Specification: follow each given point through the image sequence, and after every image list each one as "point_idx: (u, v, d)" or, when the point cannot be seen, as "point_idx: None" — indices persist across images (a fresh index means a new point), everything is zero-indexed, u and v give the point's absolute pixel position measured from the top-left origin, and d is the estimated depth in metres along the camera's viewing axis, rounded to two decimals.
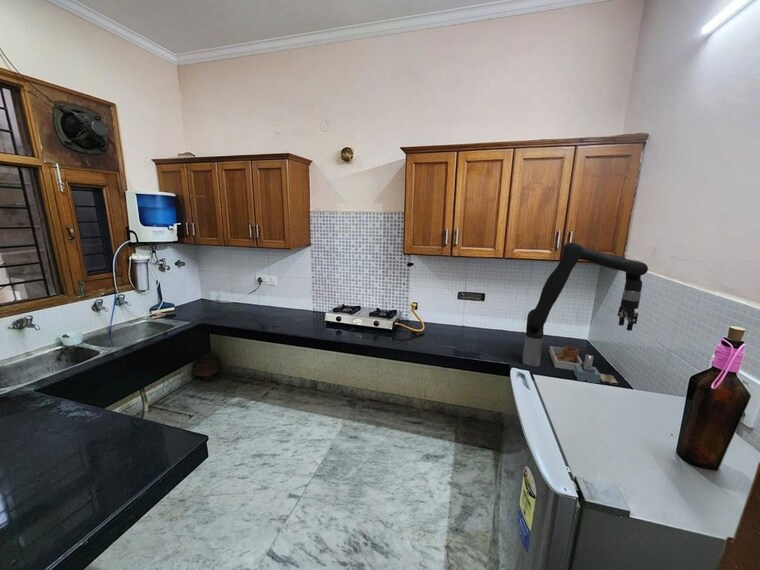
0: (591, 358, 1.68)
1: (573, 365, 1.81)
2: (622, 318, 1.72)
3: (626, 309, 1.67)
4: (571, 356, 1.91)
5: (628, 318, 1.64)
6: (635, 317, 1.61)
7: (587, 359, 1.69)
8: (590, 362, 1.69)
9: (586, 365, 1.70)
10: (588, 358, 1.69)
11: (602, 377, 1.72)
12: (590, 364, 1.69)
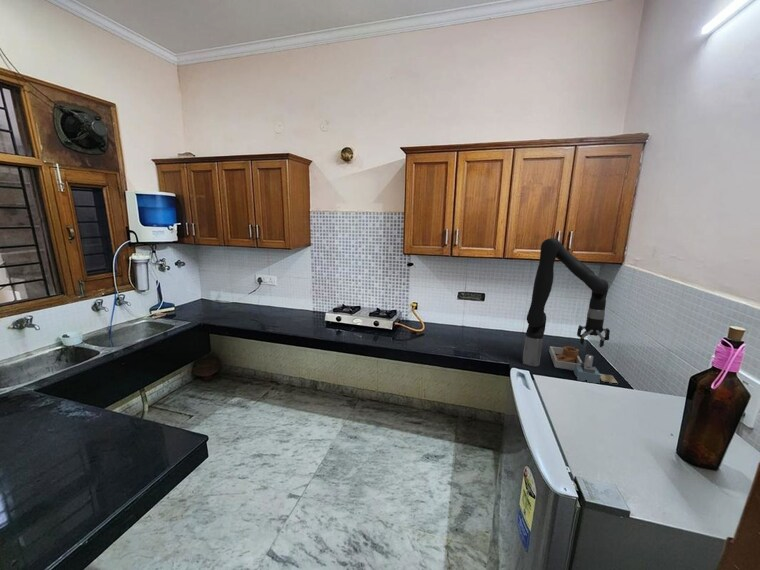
0: (591, 358, 1.68)
1: (573, 365, 1.81)
2: None
3: (595, 328, 1.66)
4: (571, 356, 1.91)
5: (602, 336, 1.65)
6: None
7: (587, 359, 1.69)
8: (590, 362, 1.69)
9: (586, 365, 1.70)
10: (588, 358, 1.69)
11: (602, 377, 1.72)
12: (590, 364, 1.69)
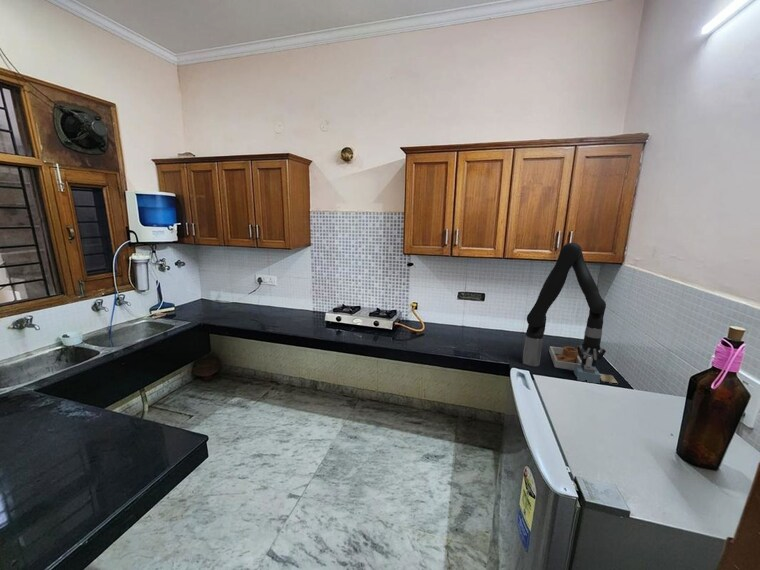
0: (591, 358, 1.68)
1: (573, 365, 1.81)
2: None
3: (592, 346, 1.68)
4: (571, 356, 1.91)
5: (596, 355, 1.68)
6: None
7: (587, 359, 1.69)
8: (590, 362, 1.69)
9: (586, 365, 1.70)
10: (588, 358, 1.69)
11: (602, 377, 1.72)
12: (590, 364, 1.69)
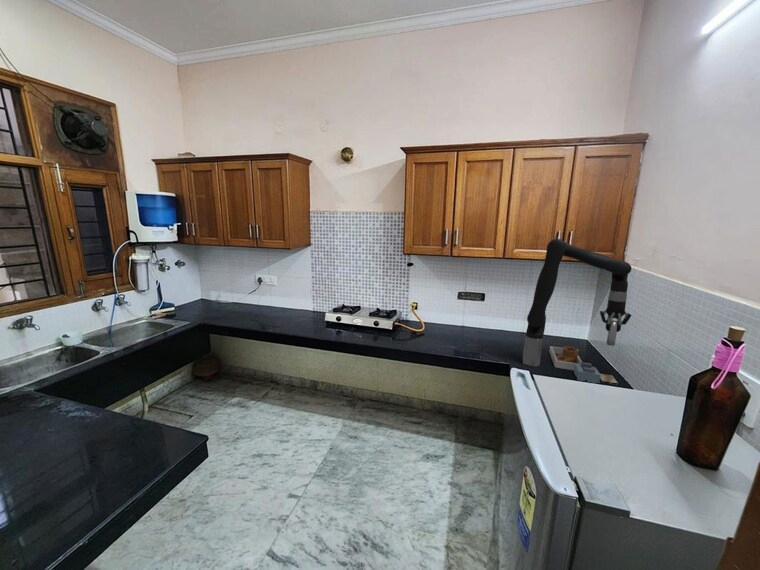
0: (616, 323, 1.63)
1: (573, 365, 1.81)
2: None
3: (616, 311, 1.62)
4: (571, 356, 1.91)
5: (621, 320, 1.62)
6: None
7: (611, 325, 1.64)
8: (615, 327, 1.63)
9: (610, 331, 1.65)
10: (612, 323, 1.64)
11: (602, 377, 1.72)
12: (615, 330, 1.64)
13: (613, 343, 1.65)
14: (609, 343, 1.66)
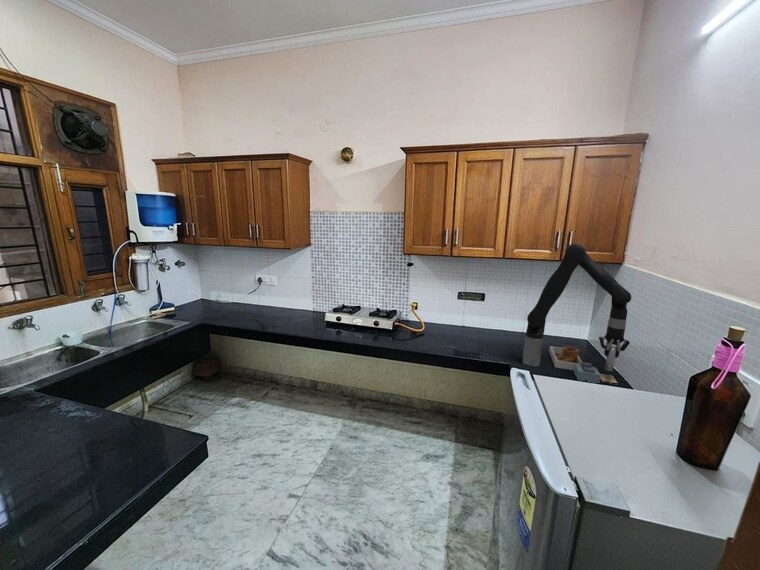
0: (614, 349, 1.66)
1: (573, 365, 1.81)
2: None
3: (615, 337, 1.65)
4: (571, 356, 1.91)
5: (619, 346, 1.65)
6: None
7: (610, 351, 1.67)
8: (613, 354, 1.66)
9: (609, 357, 1.68)
10: (611, 349, 1.67)
11: (602, 377, 1.72)
12: (613, 356, 1.67)
13: (611, 368, 1.68)
14: (607, 368, 1.69)
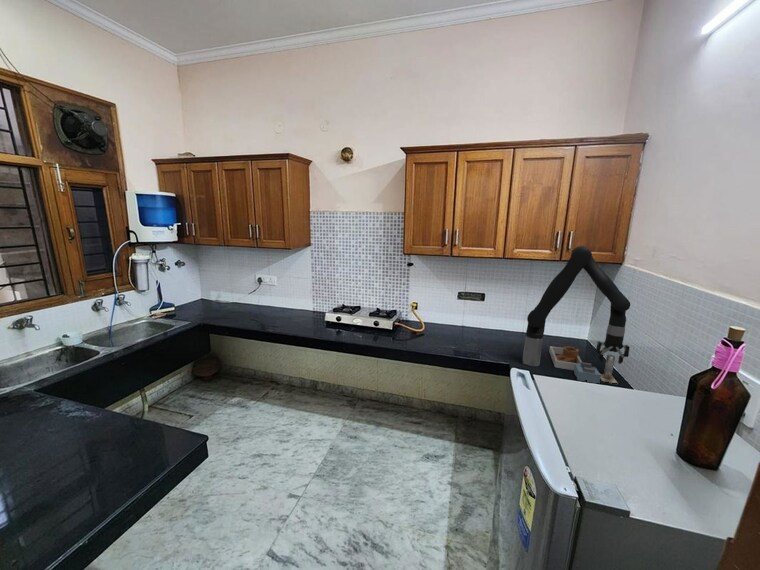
0: (613, 358, 1.67)
1: (573, 365, 1.81)
2: None
3: (614, 344, 1.66)
4: (571, 356, 1.91)
5: (621, 352, 1.65)
6: None
7: (608, 359, 1.68)
8: (612, 362, 1.67)
9: (607, 365, 1.69)
10: (610, 358, 1.68)
11: (602, 377, 1.72)
12: (612, 364, 1.68)
13: (610, 377, 1.69)
14: (606, 377, 1.70)
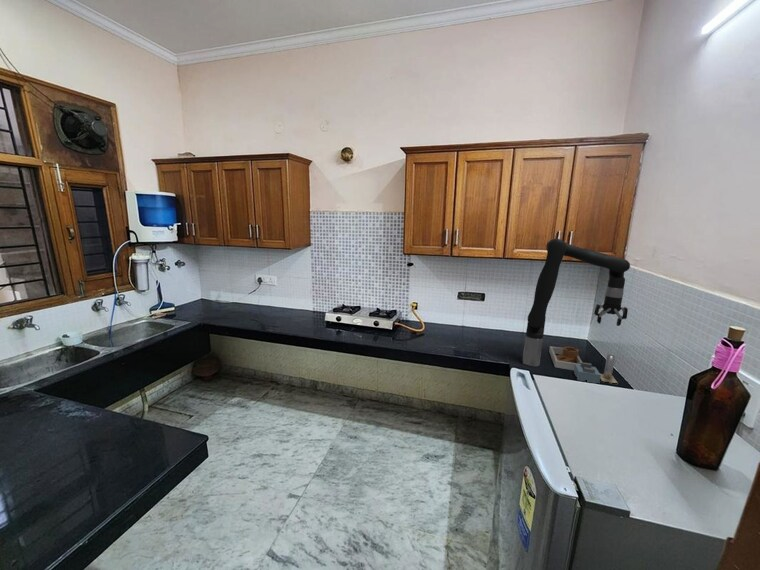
0: (613, 358, 1.67)
1: (573, 365, 1.81)
2: None
3: (613, 306, 1.67)
4: (571, 356, 1.91)
5: None
6: None
7: (609, 359, 1.68)
8: (612, 362, 1.67)
9: (607, 365, 1.69)
10: (610, 358, 1.68)
11: (602, 377, 1.72)
12: (612, 364, 1.68)
13: (610, 377, 1.69)
14: (606, 377, 1.70)
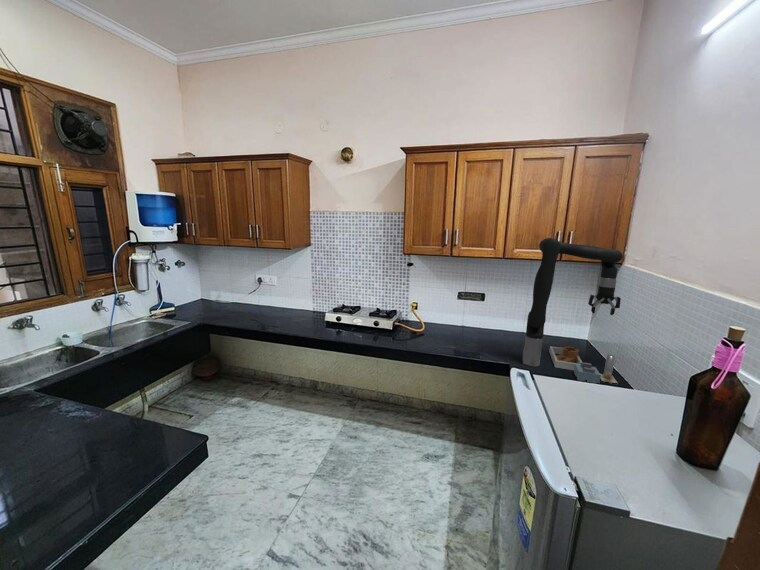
0: (613, 358, 1.67)
1: (573, 365, 1.81)
2: None
3: (606, 296, 1.72)
4: (571, 356, 1.91)
5: (613, 304, 1.71)
6: None
7: (608, 359, 1.68)
8: (611, 362, 1.67)
9: (607, 365, 1.69)
10: (609, 358, 1.67)
11: (602, 377, 1.72)
12: (611, 364, 1.68)
13: (610, 377, 1.69)
14: (606, 377, 1.70)
